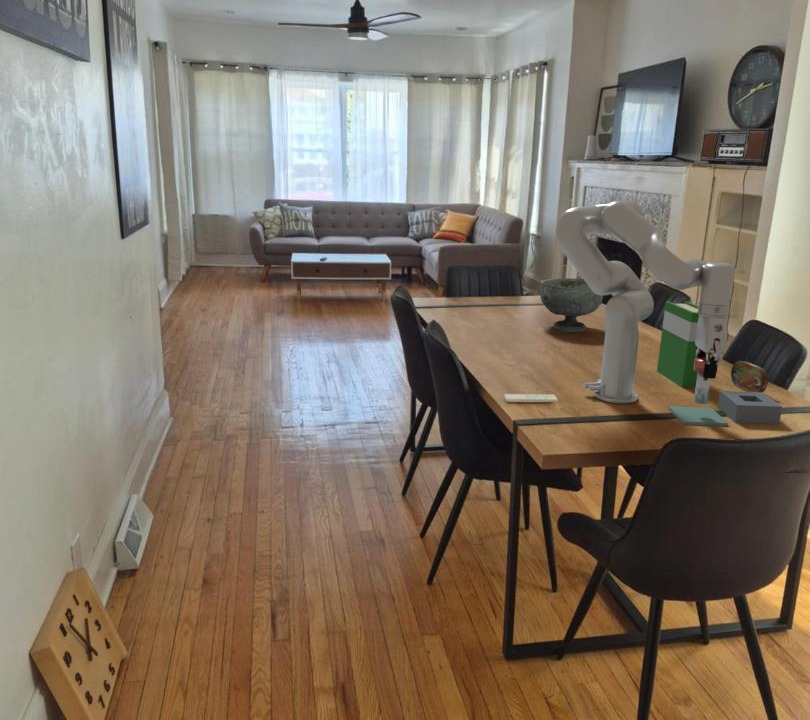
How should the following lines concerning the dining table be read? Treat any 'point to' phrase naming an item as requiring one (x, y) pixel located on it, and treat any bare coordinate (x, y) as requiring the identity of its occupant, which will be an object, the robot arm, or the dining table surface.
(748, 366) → the tin
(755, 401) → the grey flat block
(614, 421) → the dining table surface
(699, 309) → the robot arm
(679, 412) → the mat
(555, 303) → the decorative bowl
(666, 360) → the green cereal box
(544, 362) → the dining table surface
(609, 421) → the dining table surface
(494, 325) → the dining table surface
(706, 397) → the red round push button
